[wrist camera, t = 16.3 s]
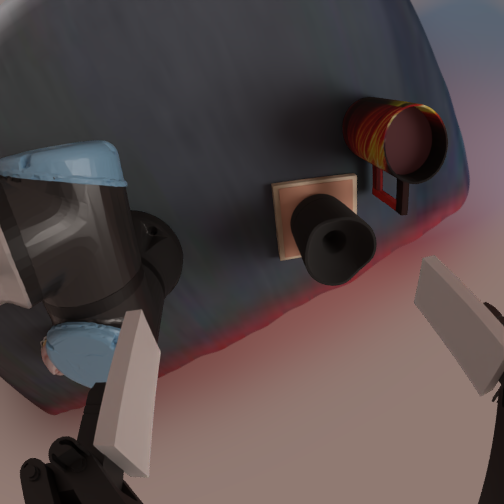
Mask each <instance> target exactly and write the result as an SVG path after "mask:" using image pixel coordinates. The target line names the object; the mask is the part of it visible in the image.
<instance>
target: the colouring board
mask: <svg viewBox="0 0 504 504" xmlns="http://www.w3.org/2000/svg"><path fill="white" fill-rule="evenodd" d="M271 185H272V193H273V202H274V212H275V221H276V230H277V240H278V250H279V258H280V260H281V261H282V260H288V259H294V258H299V257H301V254H300V252H299V250H298V247H297V245H296V242H295V240H294V237H293V234H292V232H291V226H290V222H291V216H292V213H293V211H294V209H295V208H296V206H297V205H298V204H299V203H300V202H301V201H302V200H304V199H305V198H307V197H309V196H311V195H315V194H328V195H331V196H333V197H335V198H337V199H338V200H340V201H341V202H342V203H343V204H345V205H346V206H347V207H348V208H350V209H351V210H352V211H353V212H354V213H355V214H357V175H355V174H354V173H352V174H343V175H334V176H325V177H317V178H309V179H302V180H294V181H287V182H280V183H273V184H271Z"/></svg>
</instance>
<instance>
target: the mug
mask: <svg viewBox="0 0 504 504" xmlns="http://www.w3.org/2000/svg"><path fill="white" fill-rule="evenodd" d="M343 136H344V140H345V142H346V144H347V146H348V147H349V149H350V150H351V151H352V152H353V153H354V154H355V155H357V156H358V157H360V158H362V159H364V160H366V161H367V162H369V163H371V164H373V189H372V194H373V195H375V196H376V197H377V198H379V199H380V200H381V201H383V202H385V203H386V204H387V205H389V206H390V207H391V208H392V209H394V210H395V211H396V212H398V213H399V214H400V215H407V211H408V197H409V183H410V184H419V183H423V182H425V181H427V180H429V179H431V178H432V177H433V176H434V175H435V174H436V173H437V172H438V171H439V170H440V168H441V166H442V165H443V163H444V160H445V157H446V153H447V147H448V138H447V132H446V128H445V125H444V123H443V121H442V119H441V118H440V116H439V115H438V114H437V113H436V112H435V111H434V110H433V109H431V108H430V107H428V106H425V105H422V104H417V103H411V102H404V101H398V100H391V99H383V98H375V97H367V98H362V99H360V100H358V101H356V102H355V103H353V104H352V105H351V106H350V108H349V109H348V111H347V112H346V114H345V117H344V120H343ZM383 170H384V171H386V172H387V173H389V174H391V175H392V176H394V177H396V178H397V194H396V199H394V198H393V197H392V196H390V195H389V194H387V193H386V192H385V191H383Z"/></svg>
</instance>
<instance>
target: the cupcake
mask: <svg viewBox="0 0 504 504" xmlns="http://www.w3.org/2000/svg"><path fill="white" fill-rule="evenodd" d="M46 341H47V336H46V337H44V340H42V341H41V342H40V344H41V346H42V348H41V351H42V359H43V361H44V363H45V365H46V366H47V368H48V369H49V371H50V372H51V373H52V374H54V375H55V374H57V375H64V374H62V373H61V372H60V371H59V370H58V369H57V368H56V367H55V366H54V365H53V363H52V362H51V361H50V359H49V357H48V355H47V352H46Z"/></svg>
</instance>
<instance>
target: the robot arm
mask: <svg viewBox="0 0 504 504" xmlns="http://www.w3.org/2000/svg"><path fill="white" fill-rule="evenodd" d="M126 186H127V182H126V181H125V180H124V178H123V173H122V169H121V165H120V160H119V155H118V152H117V150H116V148H115V147H114V146H113V145H112V144H111V143H109V142H107V141H104V140H92V141H83V142H75V143H69V144H62V145H57V146H51V147H45V148H40V149H36V150H31V151H27V152H22V153H19V154H15V155H12V156H8V157H4V158H1V159H0V306H1V305H2V304H4V303H12V304H15V305H18V306H21V307H24V308H27V309H29V308H31V307H33V306H34V305H36V304H38V303H39V302H41V301H43V303H44V305H45V308H46V310H47V312H48V314H49V316H50V318H51V320H52V327H51V329H50V330H49V331H48V333H47V341H46V352H47V355H48V357H49V359H50V361H51V362H52V363H53V365H54V366H55V367H56V368H57V369H58V370H59V371H60V372H61V373H62V374H64V375H65V376H67V377H68V378H70V379H71V380H73V381H75V382H77V383H79V384H82V385H84V386H87V387H89V388H91V390H90V391H89V393H88V397H87V401H86V406H85V408H84V415H83V416H82V421H81V425H80V429H79V434H78V438H77V441H76V440H75V439H74V438H71V437H69V436H68V437H61V438H58V439H57V440H56V441H54V442H53V443H52V445H51V447H50V449H49V460H50V462H51V463H47V464H45V463H43V462H42V461H41V460H39V459H36V458H30V459H28V460H27V461H25V462H24V464H23V465H22V467H21V470H20V479H21V485H22V490H23V495H24V500H25V504H143V503H142V502H141V500H140V499H139V498H138V497H137V495H136V494H135V493H134V492H133V491H132V489H131V488H130V487H129V485H128V484H127V483H126V482H125V481H124V480H123V473H124V472H125V473H127V474H128V475H129V476H130V477H149V469H150V467H149V466H150V453H151V439H152V426H153V415H154V404H155V394H156V386H157V378H158V369H159V361H160V354H161V352H160V350H159V347H158V345H157V343H158V336H159V329H160V323H161V316H162V310H163V304H164V299H165V298H166V296H167V295H168V294H169V293H170V292H171V291H172V290H173V289H174V287H175V286H176V284H177V283H178V281H179V278H180V275H181V271H182V264H183V252H182V248H181V245H180V242H179V240H178V238H177V236H176V235H175V233H174V232H173V231H172V229H171V228H170V227H169V226H168V225H167V224H166V223H164V222H163V221H162V220H160V219H159V218H157V217H155V216H153V215H151V214H148V213H145V212H140V211H130V207H129V202H128V197H127V191H126ZM414 303H415V305H416V306H417V307H418V309H419V310H420V311H421V312H422V314H423V315H424V316H425V318H426V319H427V320H428V322H429V323H430V324H431V326H432V327H433V328H434V329H435V331H436V332H437V334H438V335H439V336H440V338H441V339H442V341H443V342H444V343H445V345H446V346H447V348H448V349H449V350H450V352H451V353H452V355H453V356H454V357H455V359H456V360H457V362H458V363H459V365H460V366H461V368H462V369H463V370H464V372H465V374H466V375H467V377H468V378H469V380H470V381H471V383H472V384H473V386H474V387H475V389H476V390H477V392H478V393H479V395H480V396H483V395H484V394H486V393H488V392H490V391H491V390H493V388H494V387H495V385H496V384H497V382H498V381H499V382H500V383H501V386H500V388H499V389H498V391H497V392H496V394H495V395H494V397H493V399H492V402H494V401H495V399H496V398H497V397H498V401H497V403H498V407H497V415H496V423H495V430H494V437H493V443H492V449H491V454H490V459H489V464H488V468H487V473H486V477H485V481H484V485H483V489H482V492H481V496H480V499H479V502H478V504H504V317H502V314H501V313H500V312H499V311H498V310H497V309H496V308H495V307H493V306H492V305H490V304H489V303H487V302H485V303H482V302H481V301H480V300H479V299H478V298H477V297H476V296H475V295H474V294H473V292H472V291H471V290H470V289H469V288H468V287H467V286H466V285H465V284H464V283H463V282H462V281H461V280H460V279H459V278H458V277H457V276H455V275H454V273H453V272H452V271H450V270H449V269H448V268H447V267H446V266H445V265H444V264H443V263H442V262H441V261H440V260H439V259H438V258H437V257H436V256H429V257H425V258H423V259H422V265H421V270H420V276H419V281H418V286H417V291H416V295H415V300H414Z"/></svg>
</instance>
